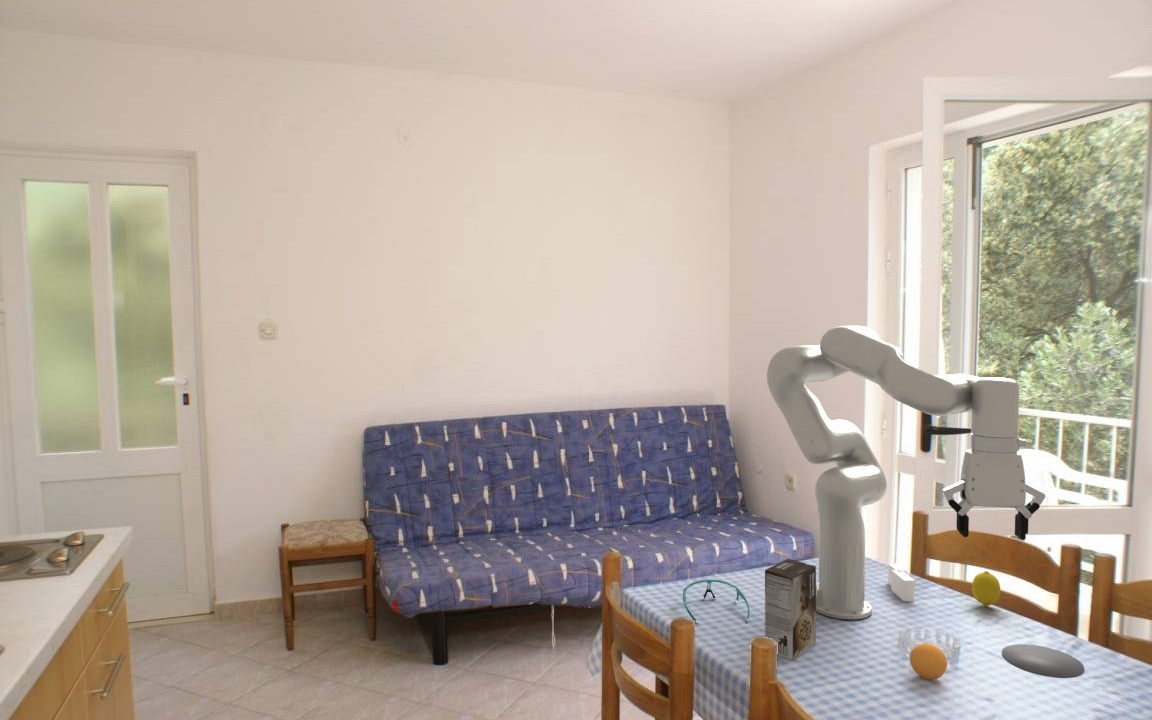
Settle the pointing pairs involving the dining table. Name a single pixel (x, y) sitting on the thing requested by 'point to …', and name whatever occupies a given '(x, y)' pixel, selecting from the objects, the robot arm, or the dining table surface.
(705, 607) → the dining table surface
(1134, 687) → the dining table surface
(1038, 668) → the gray round disc
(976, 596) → the lemon
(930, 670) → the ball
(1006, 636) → the dining table surface
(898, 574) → the napkin holder
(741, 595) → the safety glasses
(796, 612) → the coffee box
